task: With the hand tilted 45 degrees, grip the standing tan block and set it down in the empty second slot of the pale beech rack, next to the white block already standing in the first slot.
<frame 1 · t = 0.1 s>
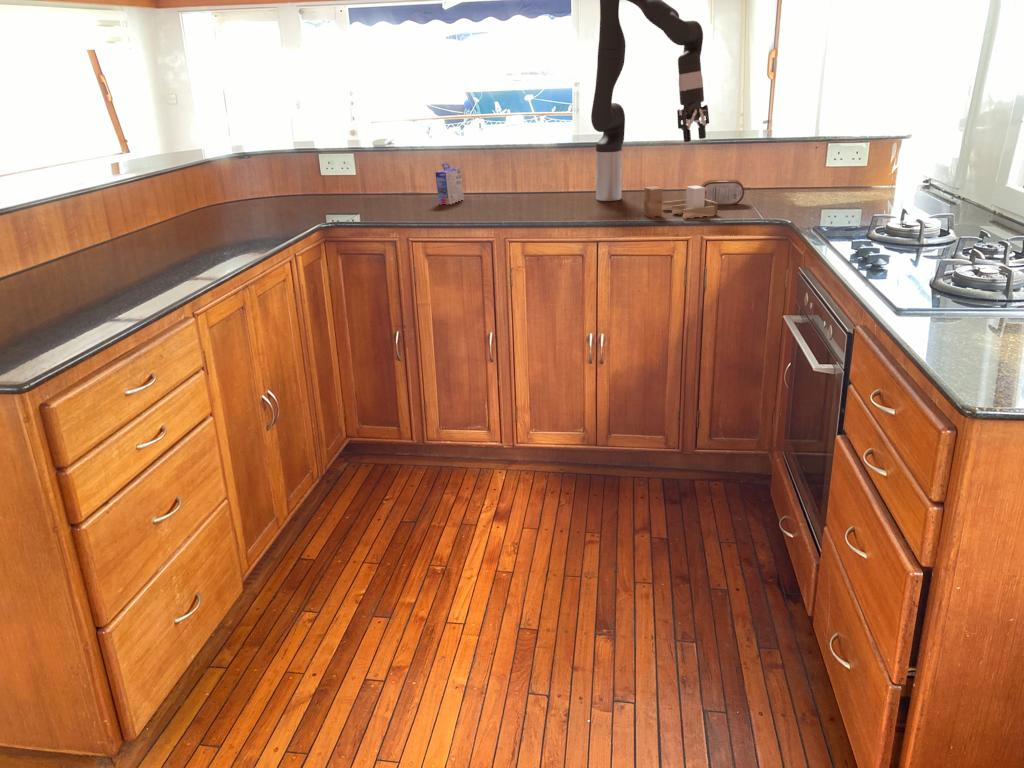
hand: (695, 140, 261), 22 cm above the worktop, tool pointing down, fingers open, 8 cm apart
tin: (721, 205, 274), on the worktop
white block: (694, 215, 261), resting in rack
tan block: (652, 215, 263), on the worktop
rack: (689, 213, 264), on the worktop
ink cartridge box: (451, 203, 303), on the worktop
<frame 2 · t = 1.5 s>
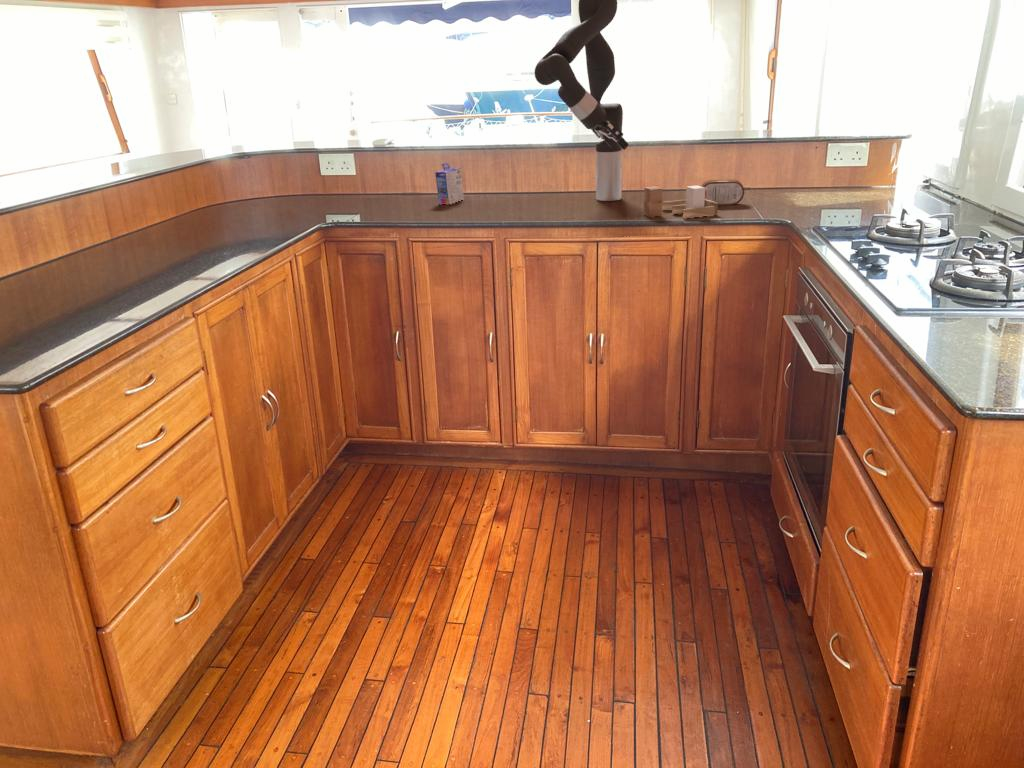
hand: (619, 146, 251), 23 cm above the worktop, tool tilted 45°, fingers open, 8 cm apart
nothing on the worktop moved.
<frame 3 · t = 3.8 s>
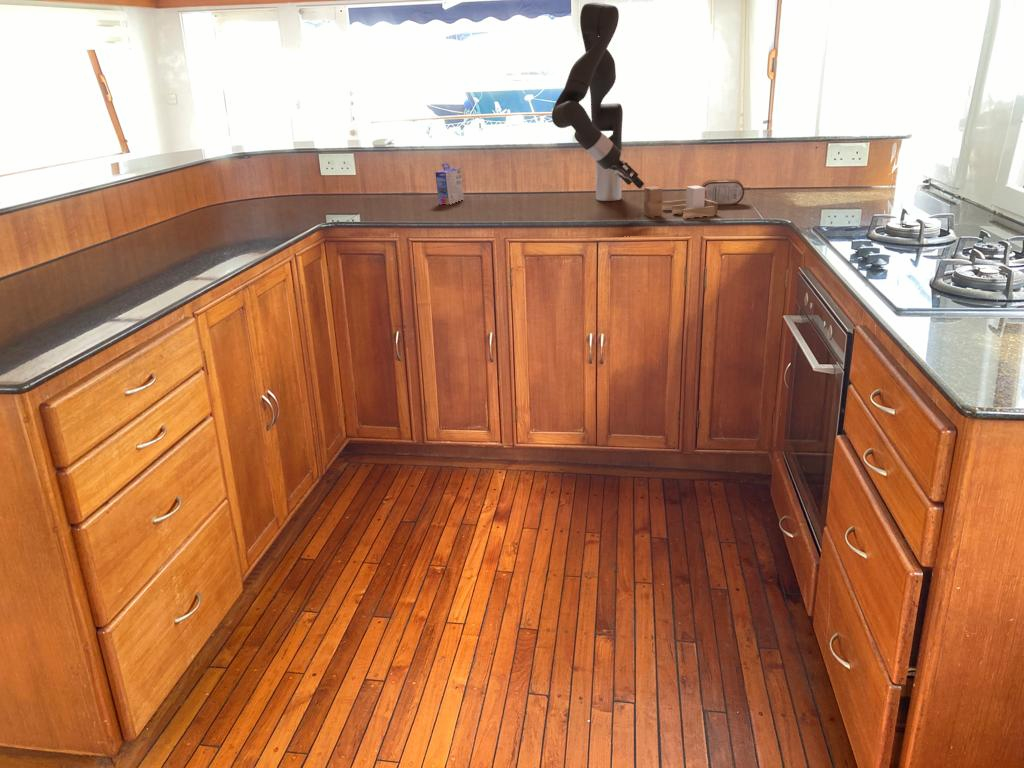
hand: (636, 184, 257), 11 cm above the worktop, tool tilted 45°, fingers open, 8 cm apart
nothing on the worktop moved.
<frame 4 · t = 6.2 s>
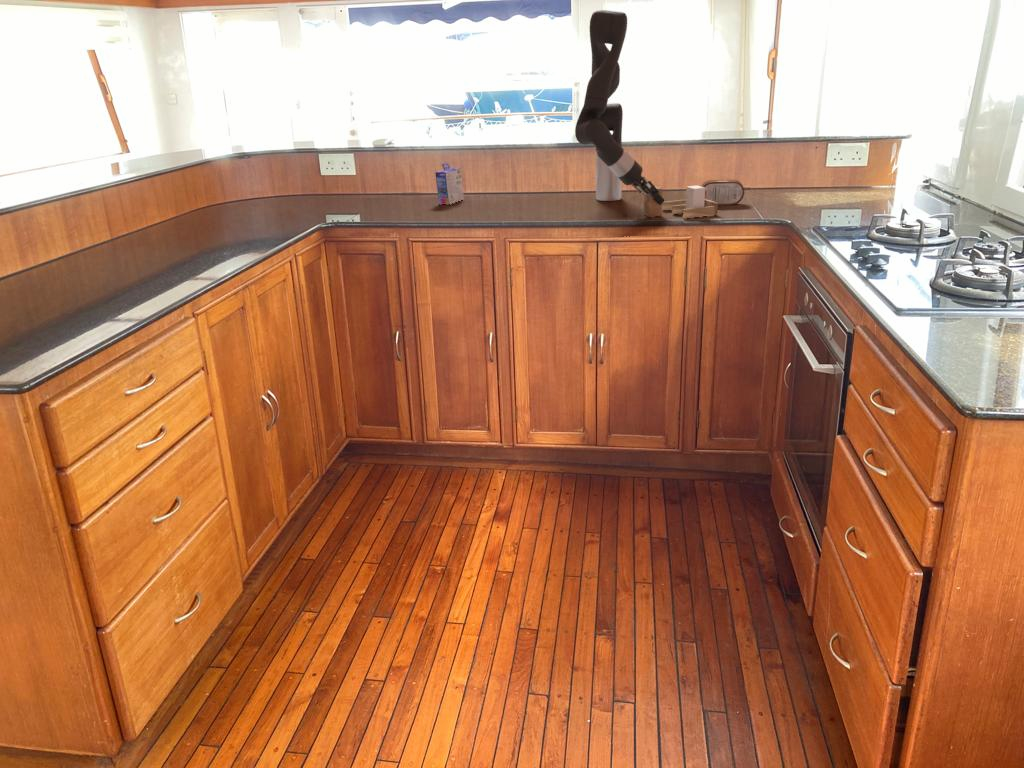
hand: (658, 201, 262), 4 cm above the worktop, tool tilted 45°, fingers closed on tan block, 5 cm apart
tan block: (652, 215, 263), on the worktop, touching gripper
everything else where it was.
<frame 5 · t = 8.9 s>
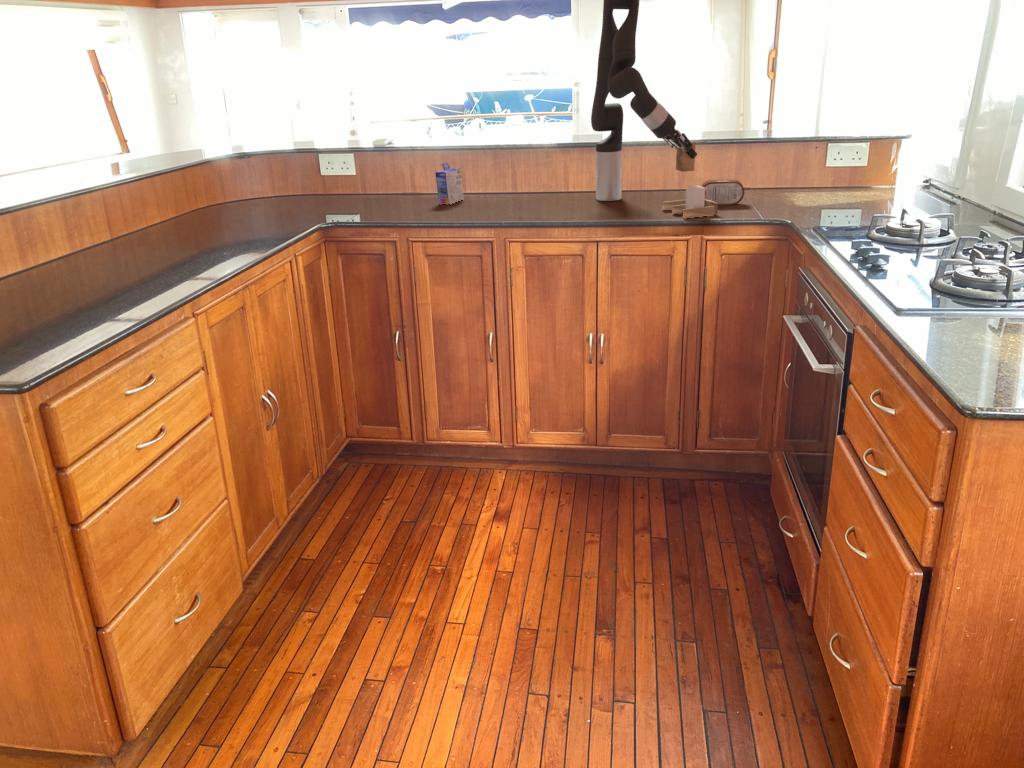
hand: (690, 155, 261), 18 cm above the worktop, tool tilted 45°, fingers closed on tan block, 5 cm apart
tan block: (685, 170, 262), point 13 cm above the worktop, touching gripper
everything else where it was.
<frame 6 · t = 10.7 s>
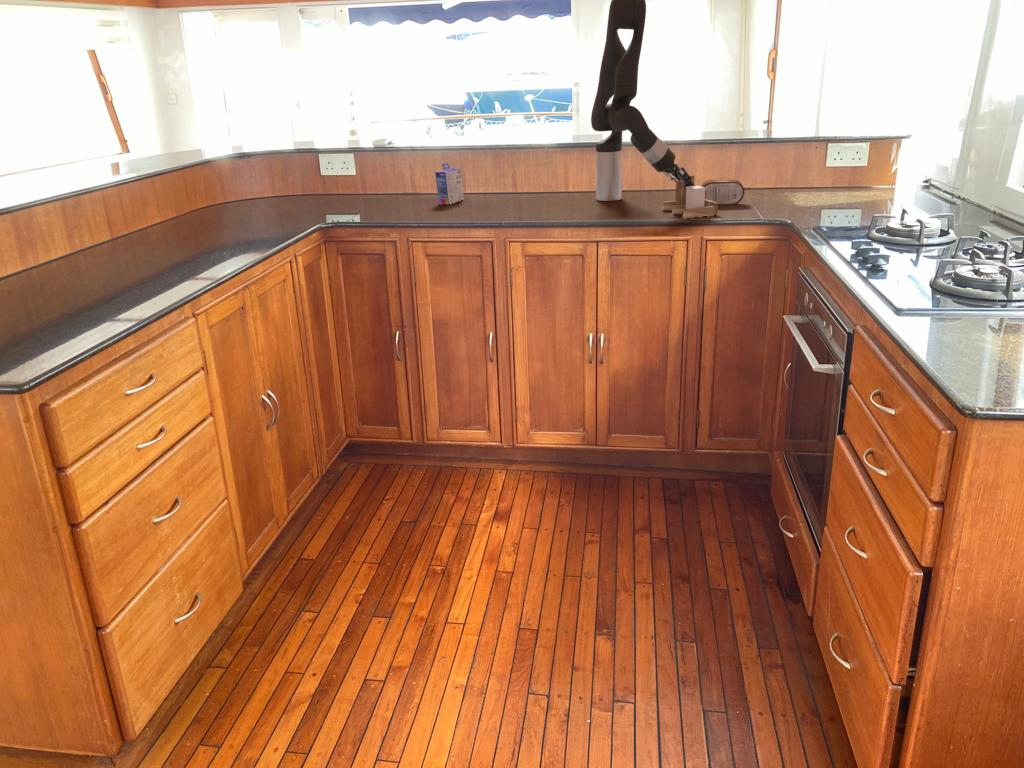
hand: (689, 188, 265), 7 cm above the worktop, tool tilted 45°, fingers closed on tan block, 5 cm apart
tan block: (684, 202, 266), point 3 cm above the worktop, touching gripper
everything else where it was.
when the fingers open (7 cm above the worktop, at t = 11.5 s): tan block drops 3 cm, resting in rack.
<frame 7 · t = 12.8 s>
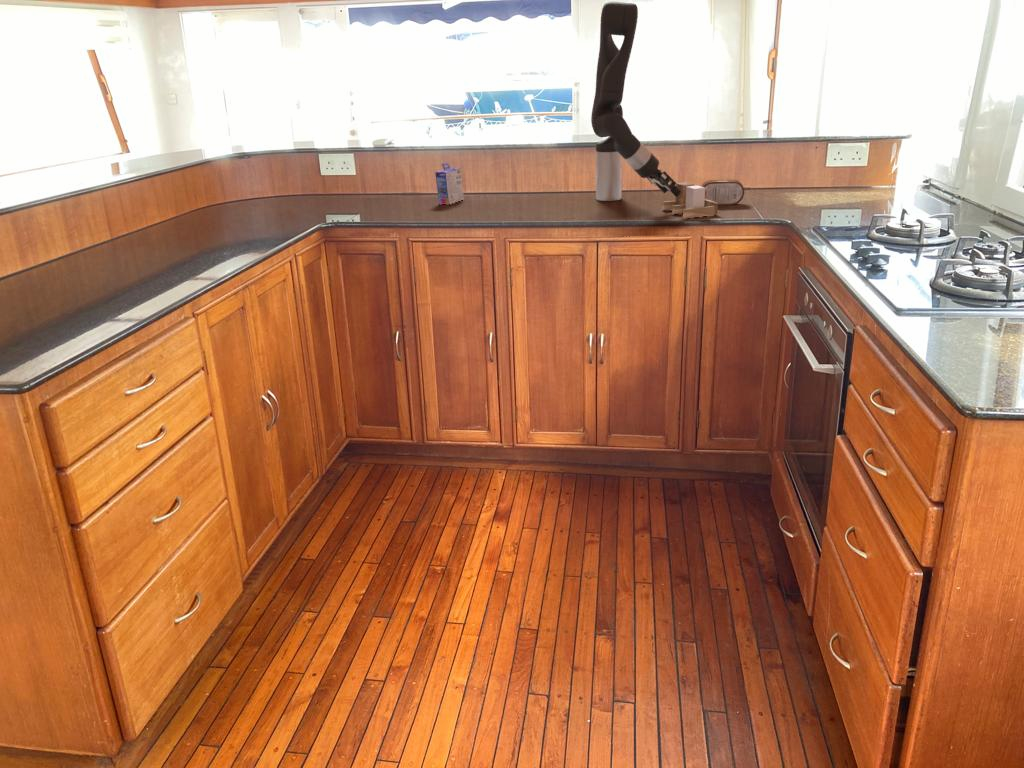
hand: (672, 192, 264), 7 cm above the worktop, tool tilted 45°, fingers open, 8 cm apart
tan block: (684, 211, 267), resting in rack
everything else where it was.
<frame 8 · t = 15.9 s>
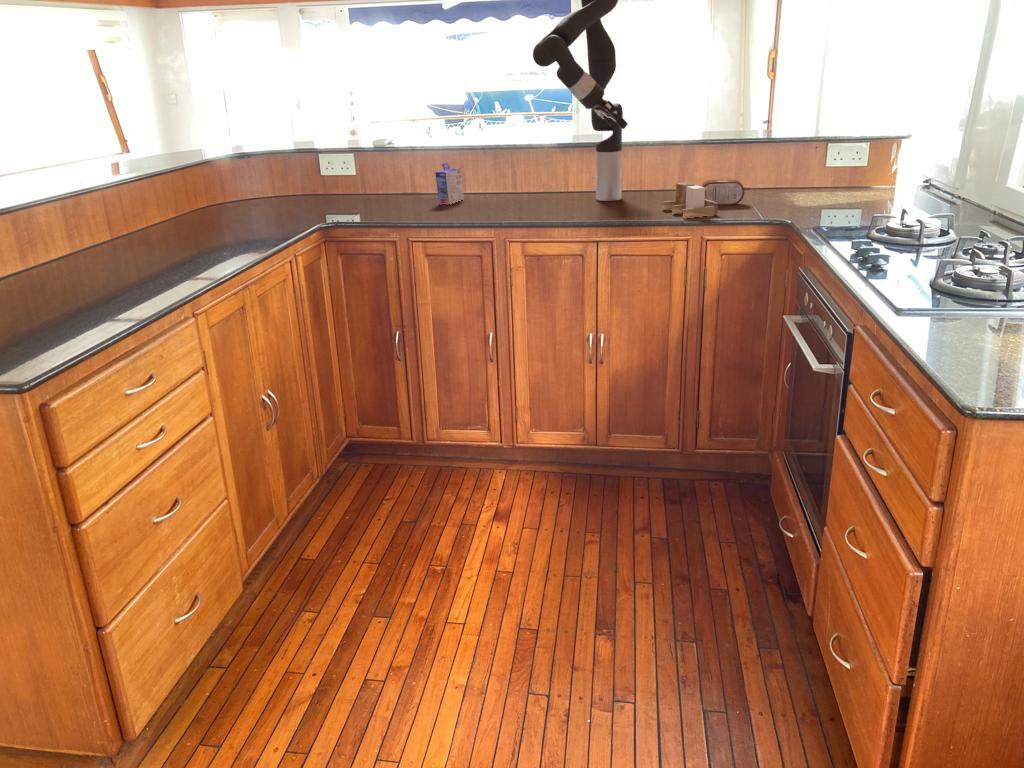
hand: (620, 125, 254), 29 cm above the worktop, tool tilted 45°, fingers open, 8 cm apart
nothing on the worktop moved.
at the end: tan block inside the target area on the rack (0.8 cm from its centre), point 0.0 cm above the rack's base; tan block tilted 0°; the gripper is holding nothing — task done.
